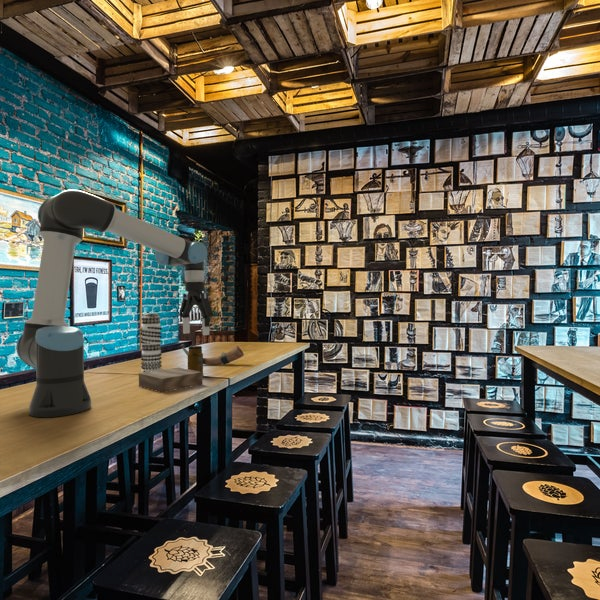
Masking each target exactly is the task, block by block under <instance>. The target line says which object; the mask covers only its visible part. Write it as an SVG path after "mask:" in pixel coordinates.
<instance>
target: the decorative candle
mask: <svg viewBox="0 0 600 600" xmlns="http://www.w3.org/2000/svg"><path fill="white" fill-rule="evenodd" d="M161 330H163V328H162V325H161V316H160V315H159V314H158V313H157V312H149V313H147V312H146V313H144V314H143V315H142V316H141V328H140V329H139V331H140V333H139V335H140V344H141V346H142V347H141V354H140V357H141V358H140V360H141V362H140V365H141V366H140V368H141V370H140V371H141V372H143V371H145V372H151V371H158V370H163V369H162V368H161V367H162V366H163V365H162V363H163V362H162V357H161V356H162V350H161V344H162V340H161V338H162V334H163V333H162V332H161ZM145 372H144V373H145Z"/></svg>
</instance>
